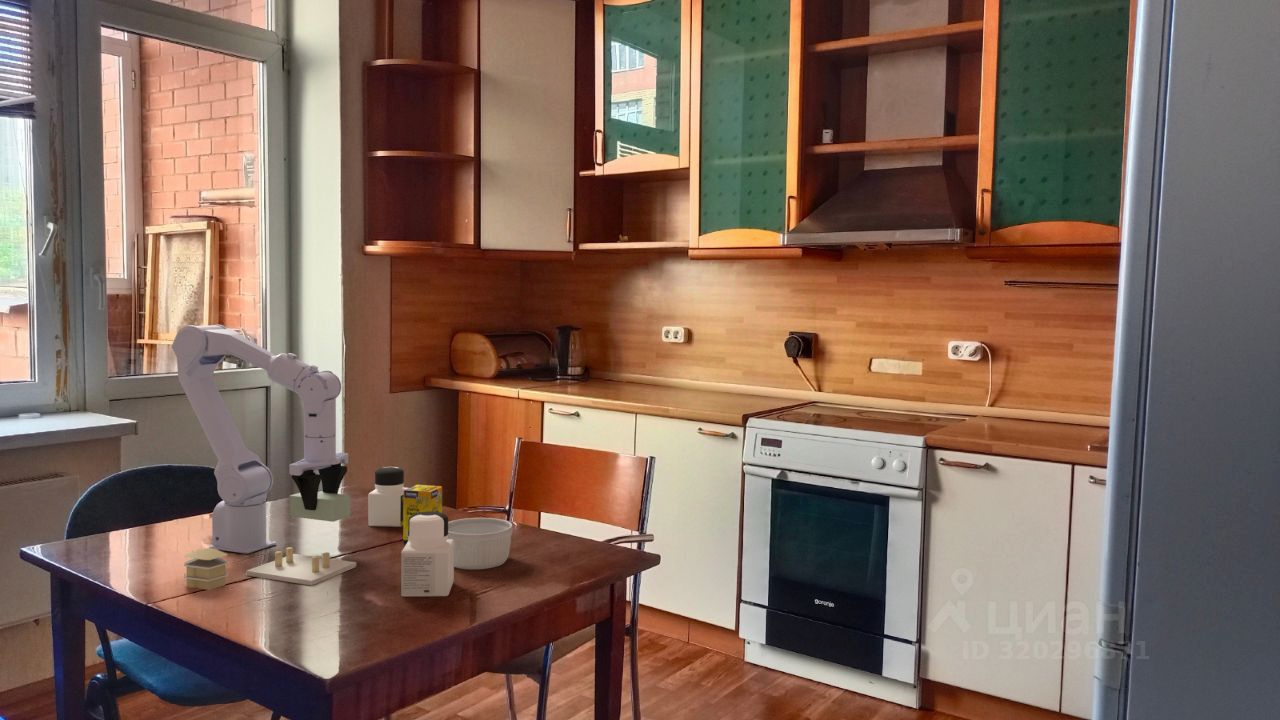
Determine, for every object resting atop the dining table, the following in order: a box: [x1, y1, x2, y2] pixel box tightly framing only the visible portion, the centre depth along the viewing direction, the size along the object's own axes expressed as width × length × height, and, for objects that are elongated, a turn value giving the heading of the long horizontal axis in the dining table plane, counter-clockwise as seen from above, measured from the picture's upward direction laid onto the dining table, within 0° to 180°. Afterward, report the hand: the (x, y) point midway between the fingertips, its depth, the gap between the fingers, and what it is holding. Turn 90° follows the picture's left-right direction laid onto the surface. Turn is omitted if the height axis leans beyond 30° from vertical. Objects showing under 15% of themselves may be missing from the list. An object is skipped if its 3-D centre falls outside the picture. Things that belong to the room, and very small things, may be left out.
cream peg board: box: [245, 547, 357, 586], centre depth 166 cm, size 14×12×3 cm
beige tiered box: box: [183, 547, 229, 591], centre depth 157 cm, size 10×9×6 cm
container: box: [400, 511, 455, 597], centre depth 156 cm, size 8×8×13 cm
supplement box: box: [402, 484, 443, 545], centre depth 187 cm, size 6×6×11 cm
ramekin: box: [448, 517, 514, 570], centre depth 174 cm, size 13×13×7 cm
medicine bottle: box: [367, 466, 410, 528], centre depth 202 cm, size 7×7×12 cm
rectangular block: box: [289, 491, 351, 523], centre depth 177 cm, size 10×5×4 cm, turn 70°
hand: (320, 506), depth 177 cm, fingers closed on rectangular block, 5 cm apart
